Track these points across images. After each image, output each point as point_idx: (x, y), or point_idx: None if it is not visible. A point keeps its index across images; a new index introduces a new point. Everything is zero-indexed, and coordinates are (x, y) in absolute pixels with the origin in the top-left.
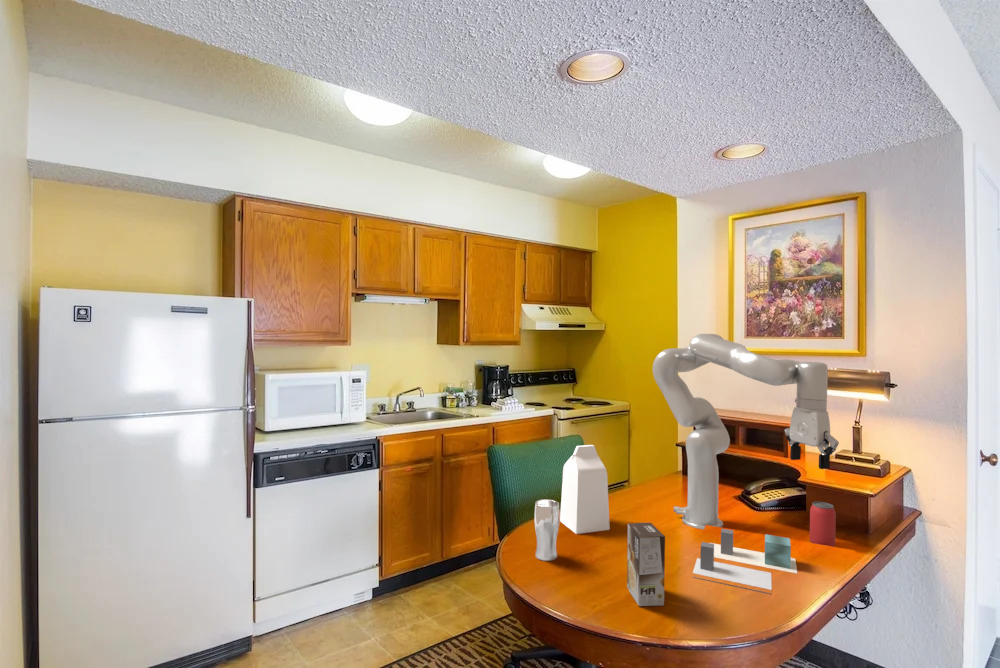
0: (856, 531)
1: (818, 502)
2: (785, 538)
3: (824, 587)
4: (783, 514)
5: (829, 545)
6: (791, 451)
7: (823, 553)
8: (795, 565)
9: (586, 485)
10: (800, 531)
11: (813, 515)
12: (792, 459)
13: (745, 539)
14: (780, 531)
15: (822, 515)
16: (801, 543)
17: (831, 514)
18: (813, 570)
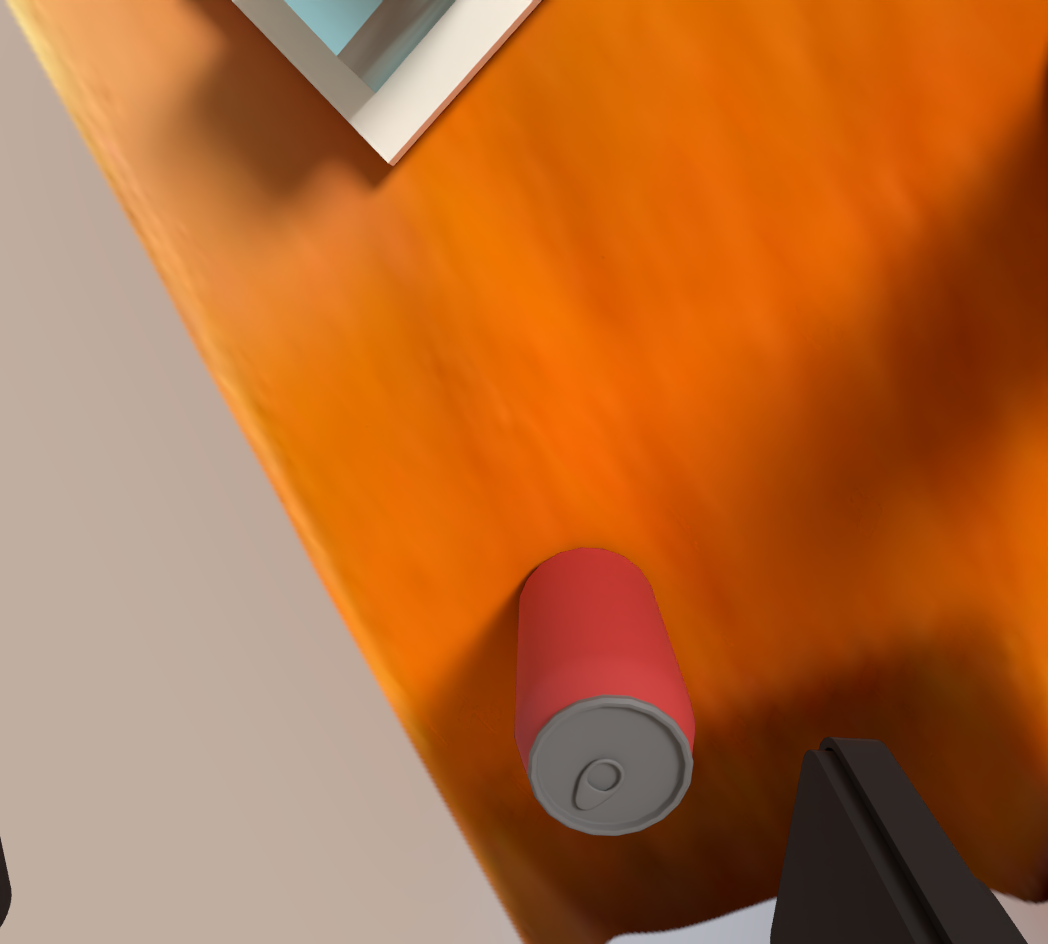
0: (656, 924)
1: (676, 791)
2: (343, 11)
3: (80, 54)
4: (1028, 781)
5: (521, 595)
6: (968, 934)
7: (476, 491)
8: (294, 58)
9: None
10: (778, 647)
11: (616, 638)
12: (821, 753)
13: (828, 162)
14: (831, 528)
15: (549, 665)
16: (634, 492)
17: (517, 725)
18: (293, 206)
